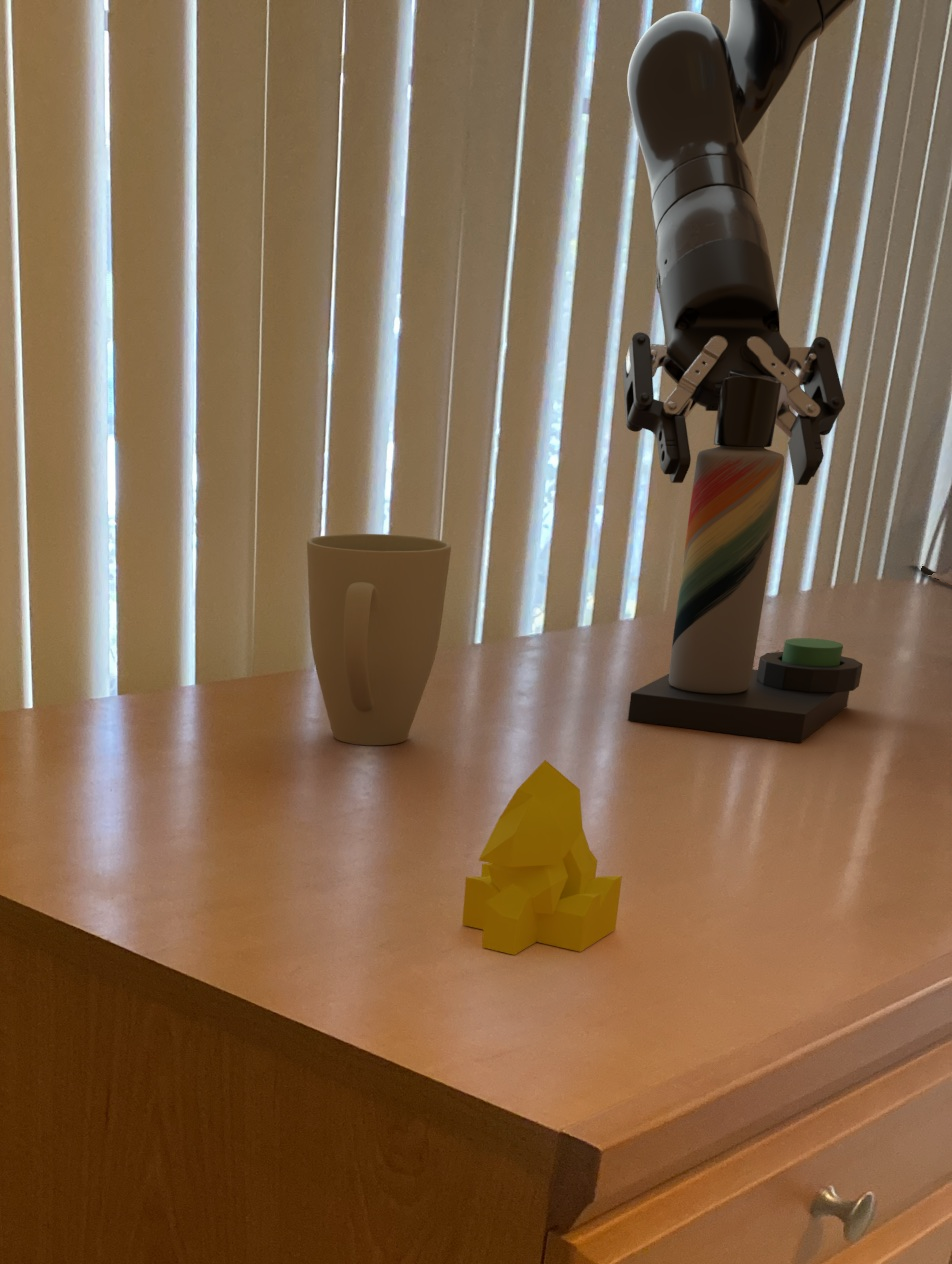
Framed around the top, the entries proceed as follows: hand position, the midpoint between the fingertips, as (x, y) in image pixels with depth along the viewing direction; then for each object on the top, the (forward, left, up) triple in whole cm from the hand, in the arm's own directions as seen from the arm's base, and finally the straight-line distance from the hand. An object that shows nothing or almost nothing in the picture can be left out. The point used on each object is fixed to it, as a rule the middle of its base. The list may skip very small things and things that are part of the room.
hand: (744, 475), depth 107 cm
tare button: (-7, +5, -13) cm, 15 cm away
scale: (-3, +1, -16) cm, 16 cm away
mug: (+20, -17, -16) cm, 31 cm away
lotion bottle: (-1, -1, -14) cm, 14 cm away
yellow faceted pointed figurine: (+49, +6, -16) cm, 52 cm away
